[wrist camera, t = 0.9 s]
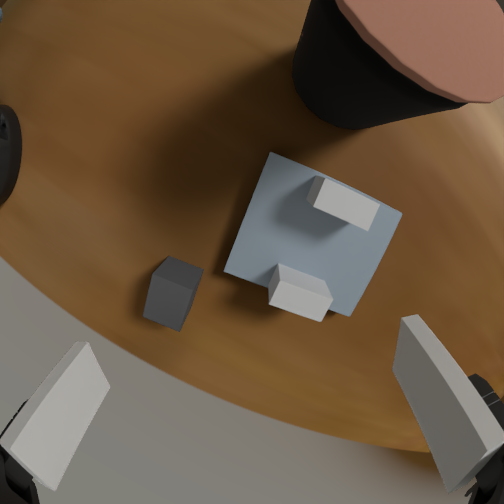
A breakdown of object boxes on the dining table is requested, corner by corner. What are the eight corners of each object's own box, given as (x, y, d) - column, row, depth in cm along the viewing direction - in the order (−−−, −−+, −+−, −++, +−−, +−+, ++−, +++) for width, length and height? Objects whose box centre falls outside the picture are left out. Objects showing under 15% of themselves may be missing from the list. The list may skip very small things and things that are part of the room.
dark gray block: (158, 294, 31) (142, 316, 26) (169, 255, 30) (152, 273, 25) (191, 307, 31) (179, 331, 27) (203, 269, 30) (192, 290, 25)
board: (226, 264, 29) (217, 289, 24) (270, 152, 26) (271, 150, 20) (345, 307, 31) (359, 337, 25) (394, 209, 27) (422, 222, 21)
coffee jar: (366, 28, 21) (450, -63, 4) (407, 116, 24) (540, 95, 7) (273, 49, 22) (281, -75, 5) (316, 144, 25) (403, 124, 8)
